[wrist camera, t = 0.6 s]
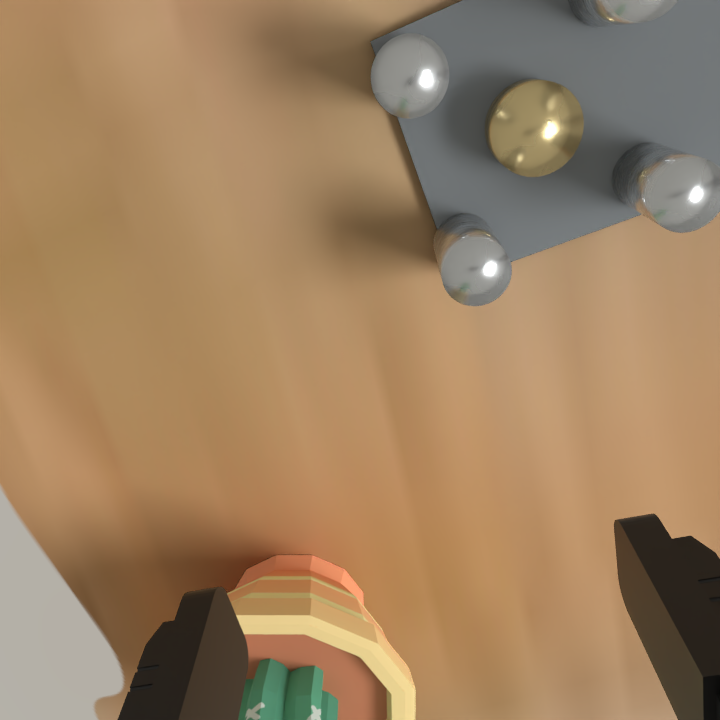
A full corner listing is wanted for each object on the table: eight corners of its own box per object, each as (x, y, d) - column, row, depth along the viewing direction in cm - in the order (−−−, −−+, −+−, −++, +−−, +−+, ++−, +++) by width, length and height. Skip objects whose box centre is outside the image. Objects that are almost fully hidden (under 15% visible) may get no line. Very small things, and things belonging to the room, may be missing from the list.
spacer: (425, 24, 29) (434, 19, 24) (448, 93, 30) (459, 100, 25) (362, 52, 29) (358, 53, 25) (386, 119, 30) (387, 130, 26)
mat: (982, -232, 25) (991, -236, 24) (984, 86, 29) (992, 86, 29) (370, 41, 29) (370, 41, 29) (454, 279, 34) (455, 281, 34)
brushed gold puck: (559, 64, 29) (571, 64, 27) (581, 150, 31) (593, 156, 29) (473, 99, 30) (479, 102, 28) (498, 182, 32) (506, 190, 30)
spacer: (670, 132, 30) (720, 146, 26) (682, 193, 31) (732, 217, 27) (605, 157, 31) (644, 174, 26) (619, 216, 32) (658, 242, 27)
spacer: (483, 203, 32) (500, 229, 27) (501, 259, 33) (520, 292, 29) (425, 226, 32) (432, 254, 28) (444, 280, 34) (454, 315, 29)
